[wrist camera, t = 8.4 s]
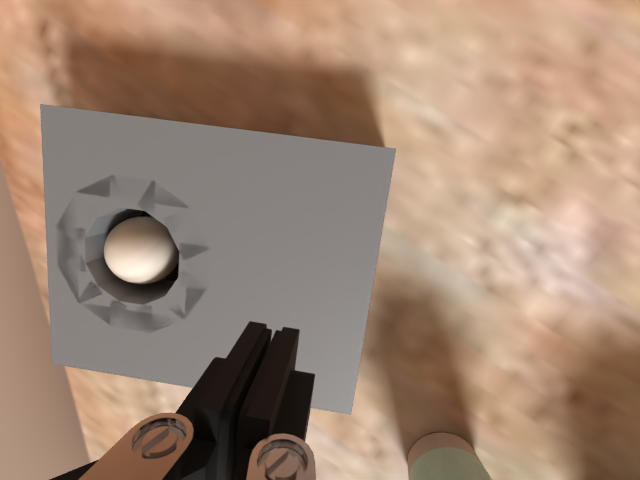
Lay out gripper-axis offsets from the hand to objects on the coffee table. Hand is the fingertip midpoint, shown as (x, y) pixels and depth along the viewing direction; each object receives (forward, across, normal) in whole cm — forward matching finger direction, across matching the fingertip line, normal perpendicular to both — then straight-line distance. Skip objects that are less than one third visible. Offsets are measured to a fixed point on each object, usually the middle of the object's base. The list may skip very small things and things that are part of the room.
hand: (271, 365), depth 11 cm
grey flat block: (+15, +7, +2) cm, 17 cm away
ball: (+13, +13, +2) cm, 18 cm away
